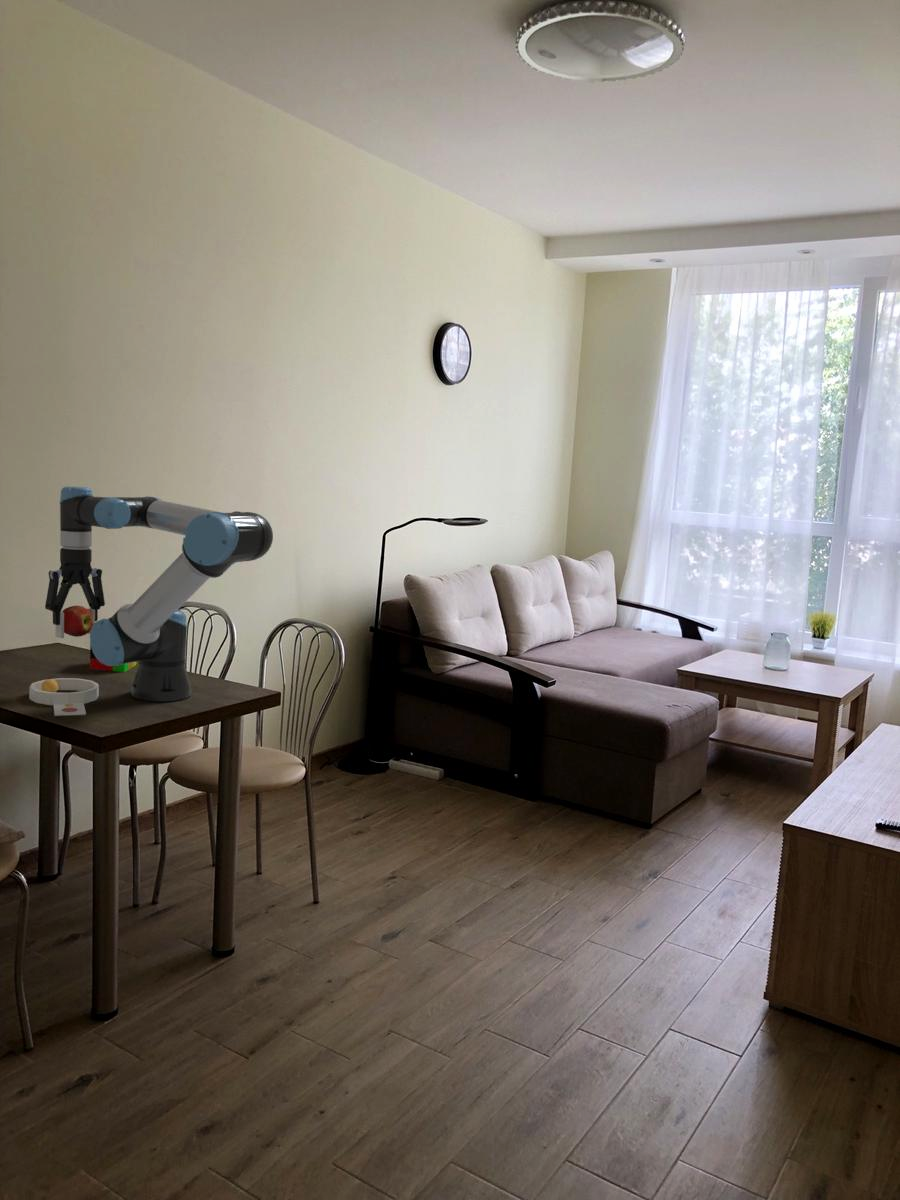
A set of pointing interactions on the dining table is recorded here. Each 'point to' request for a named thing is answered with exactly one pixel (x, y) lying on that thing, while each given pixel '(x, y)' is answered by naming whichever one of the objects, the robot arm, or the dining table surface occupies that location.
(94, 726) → the dining table surface
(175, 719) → the dining table surface
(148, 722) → the dining table surface
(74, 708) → the card
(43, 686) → the orange egg
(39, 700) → the ring
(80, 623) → the apple
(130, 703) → the dining table surface
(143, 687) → the robot arm
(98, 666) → the puzzle toy
